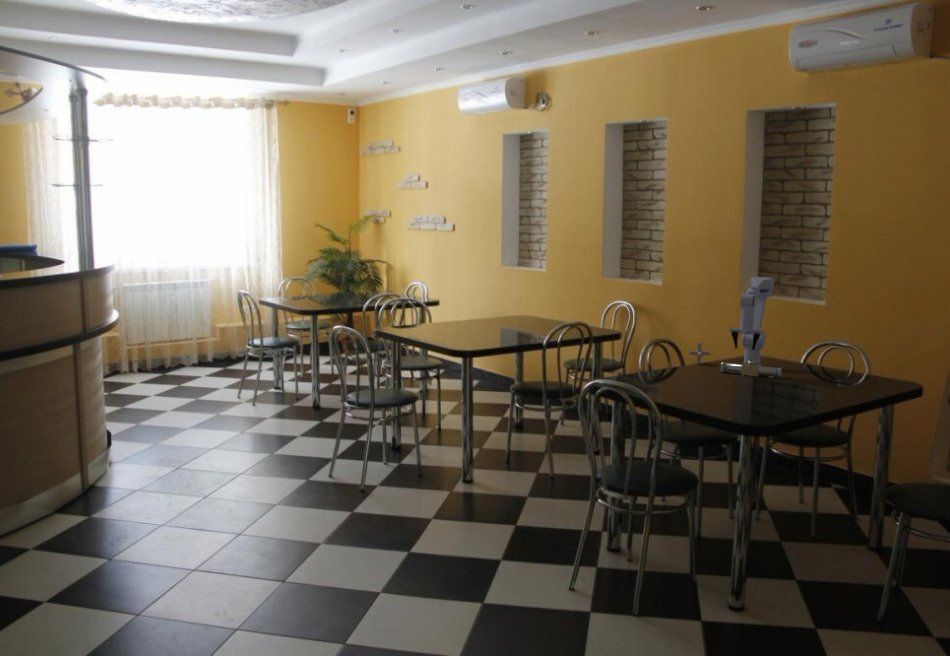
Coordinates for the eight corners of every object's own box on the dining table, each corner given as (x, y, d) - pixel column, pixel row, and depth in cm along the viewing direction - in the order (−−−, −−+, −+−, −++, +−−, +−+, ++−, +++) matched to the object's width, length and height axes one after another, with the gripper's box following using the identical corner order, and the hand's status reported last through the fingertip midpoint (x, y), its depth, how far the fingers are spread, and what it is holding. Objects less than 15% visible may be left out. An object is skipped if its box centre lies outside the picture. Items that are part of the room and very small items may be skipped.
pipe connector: (711, 365, 409) (712, 344, 408) (690, 365, 409) (691, 344, 408) (706, 361, 419) (707, 341, 418) (685, 361, 419) (686, 341, 418)
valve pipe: (722, 370, 397) (723, 360, 396) (781, 376, 385) (782, 365, 384) (719, 372, 391) (720, 362, 390) (779, 379, 379) (780, 368, 379)
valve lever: (753, 364, 385) (754, 361, 385) (747, 364, 387) (747, 361, 387) (758, 360, 398) (758, 357, 397) (752, 359, 399) (752, 356, 399)
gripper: (729, 319, 392) (726, 348, 393) (762, 321, 386) (759, 351, 387) (732, 318, 398) (729, 347, 399) (764, 321, 392) (761, 350, 393)
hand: (744, 349), depth 394 cm, fingers open, 7 cm apart
